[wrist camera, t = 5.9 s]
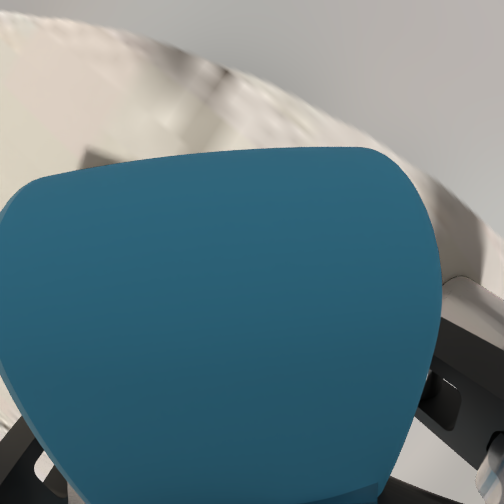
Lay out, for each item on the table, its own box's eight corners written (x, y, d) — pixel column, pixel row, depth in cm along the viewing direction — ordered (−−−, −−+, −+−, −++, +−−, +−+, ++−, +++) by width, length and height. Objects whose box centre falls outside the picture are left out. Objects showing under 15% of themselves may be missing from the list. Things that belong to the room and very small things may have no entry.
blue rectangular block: (277, 380, 17) (328, 585, 6) (196, 387, 17) (187, 596, 5) (268, 150, 13) (471, 151, 2) (163, 159, 13) (-64, 205, 2)
